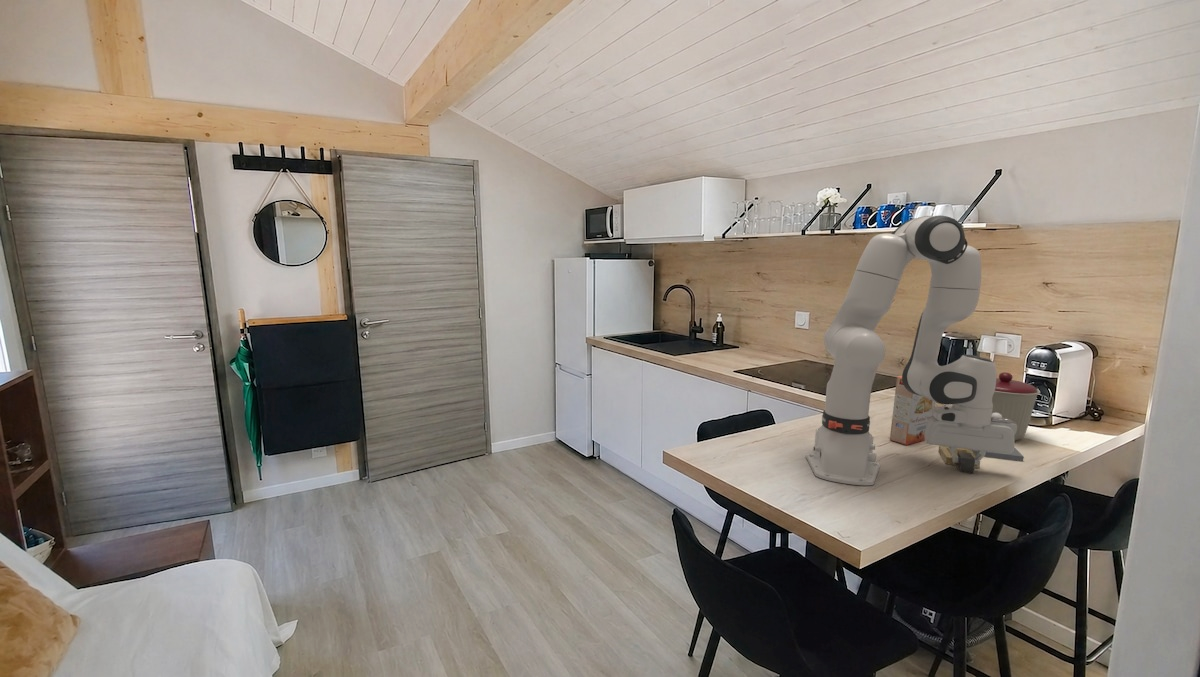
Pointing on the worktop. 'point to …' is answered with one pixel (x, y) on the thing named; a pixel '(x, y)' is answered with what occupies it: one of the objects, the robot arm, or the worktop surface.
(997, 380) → the canister
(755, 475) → the worktop surface
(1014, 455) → the stand
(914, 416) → the cracker box
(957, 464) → the link
